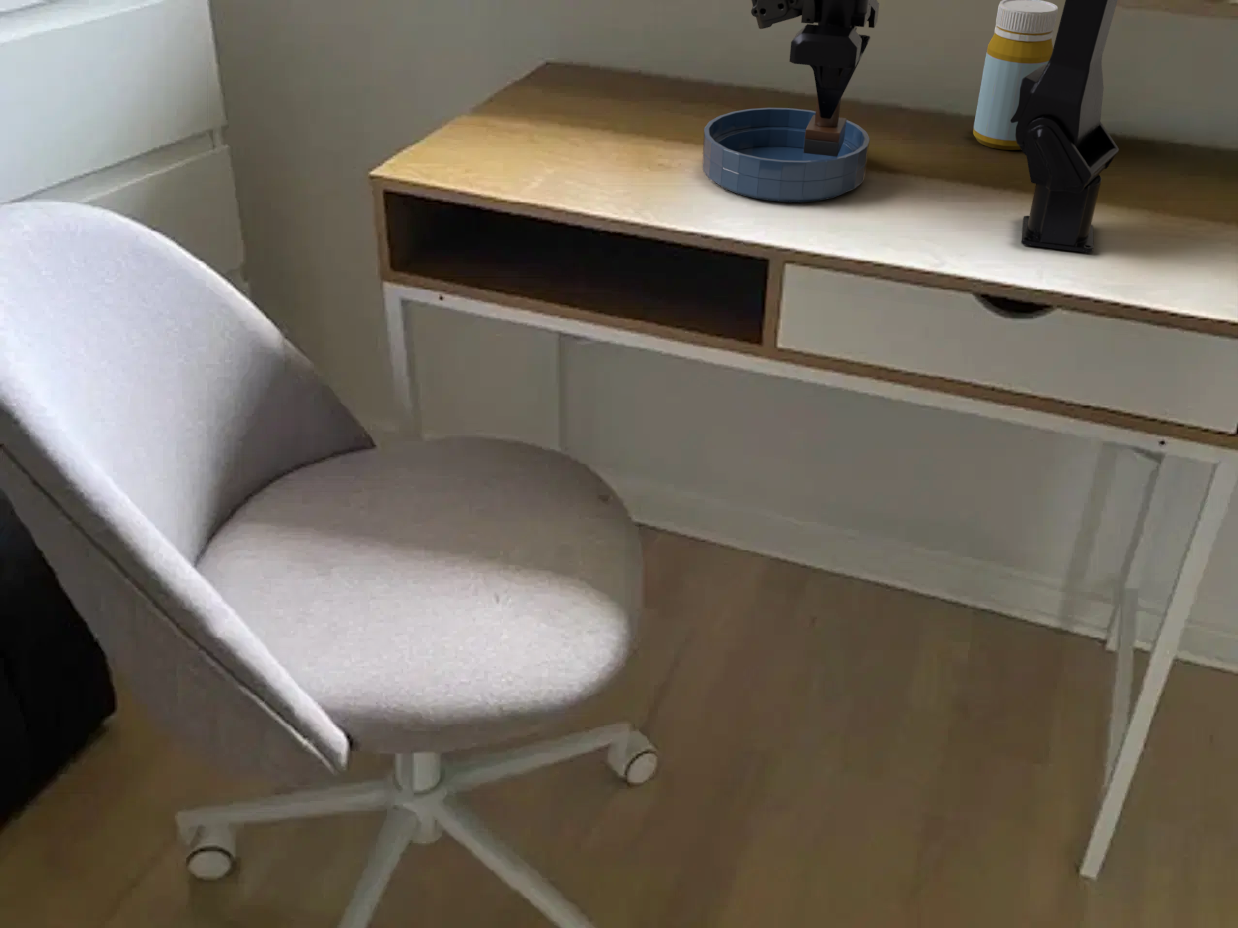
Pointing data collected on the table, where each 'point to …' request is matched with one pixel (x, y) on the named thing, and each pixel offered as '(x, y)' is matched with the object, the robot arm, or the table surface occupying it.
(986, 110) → the bottle
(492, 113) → the table surface
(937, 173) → the table surface
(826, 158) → the bowl
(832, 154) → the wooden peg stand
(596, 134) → the table surface
